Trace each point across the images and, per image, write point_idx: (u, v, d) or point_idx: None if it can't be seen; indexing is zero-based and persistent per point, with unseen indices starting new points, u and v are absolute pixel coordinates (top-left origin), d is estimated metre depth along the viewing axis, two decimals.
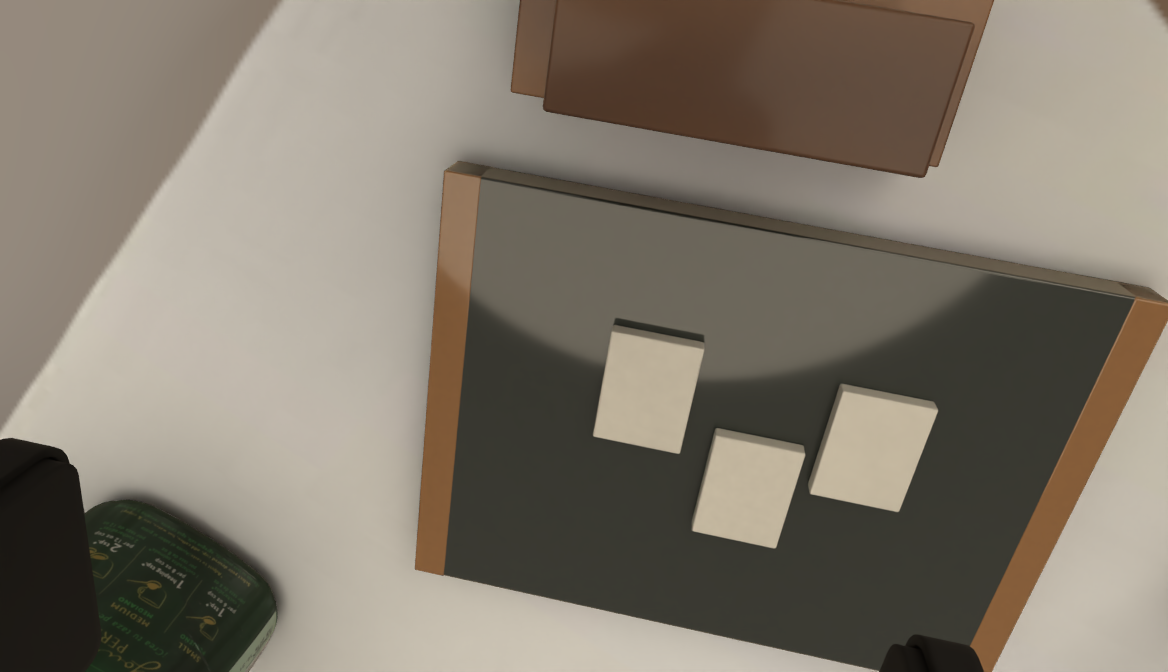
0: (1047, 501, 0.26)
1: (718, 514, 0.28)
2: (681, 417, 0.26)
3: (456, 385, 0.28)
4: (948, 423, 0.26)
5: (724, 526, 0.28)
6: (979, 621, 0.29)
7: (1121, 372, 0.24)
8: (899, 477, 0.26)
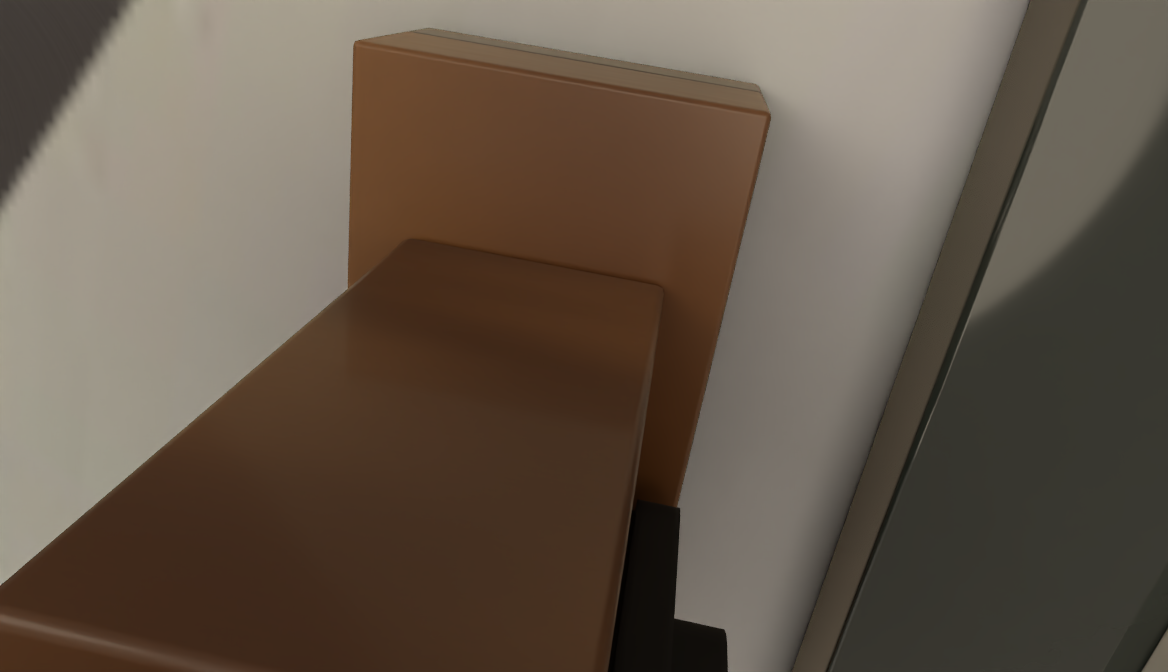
0: None
1: None
2: None
3: None
4: None
5: None
6: None
7: None
8: None
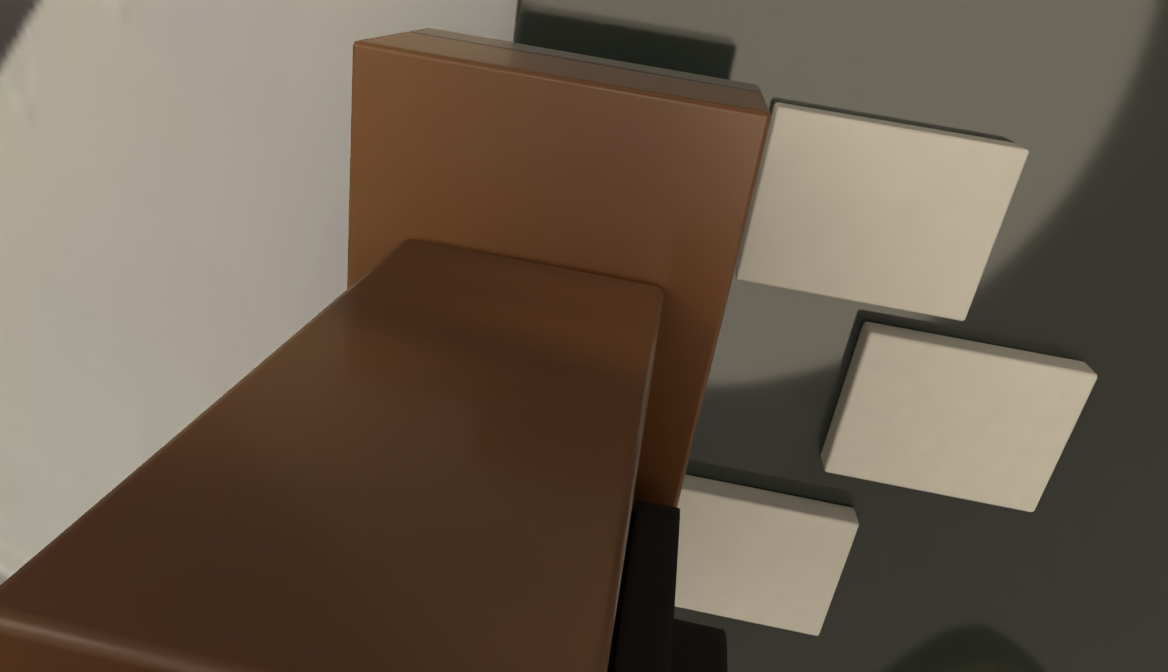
0: None
1: (998, 471, 0.15)
2: (785, 519, 0.16)
3: None
4: (826, 66, 0.13)
5: (1028, 462, 0.15)
6: None
7: None
8: (936, 160, 0.13)
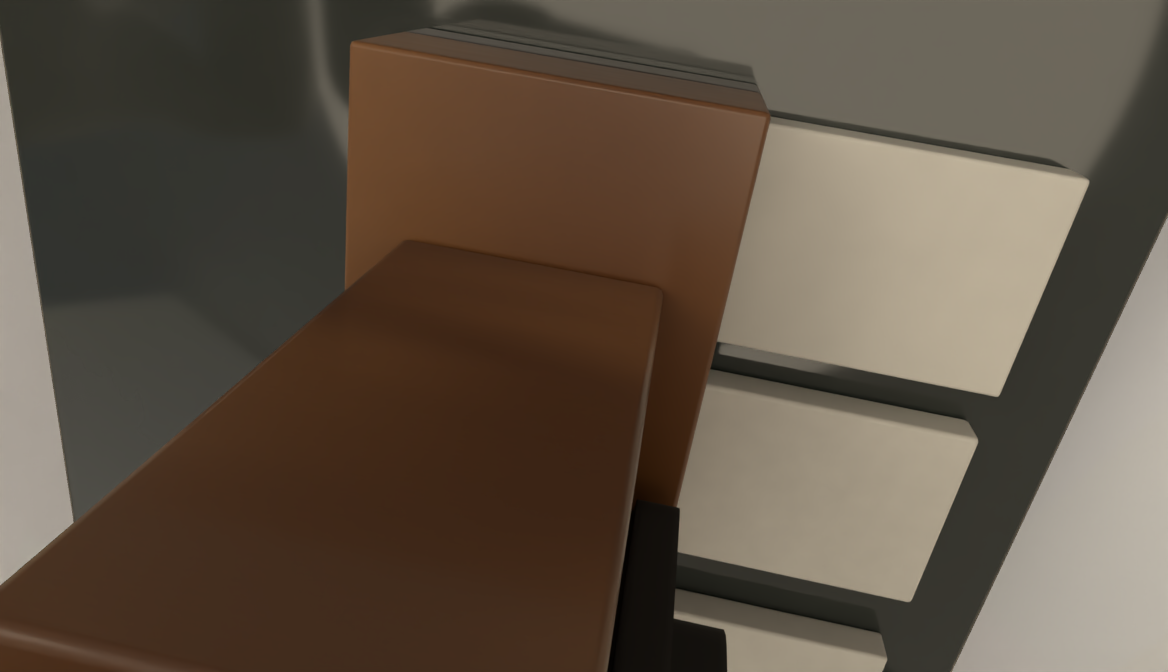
0: None
1: (863, 553, 0.12)
2: (796, 649, 0.13)
3: None
4: None
5: (899, 543, 0.12)
6: None
7: None
8: (965, 192, 0.10)
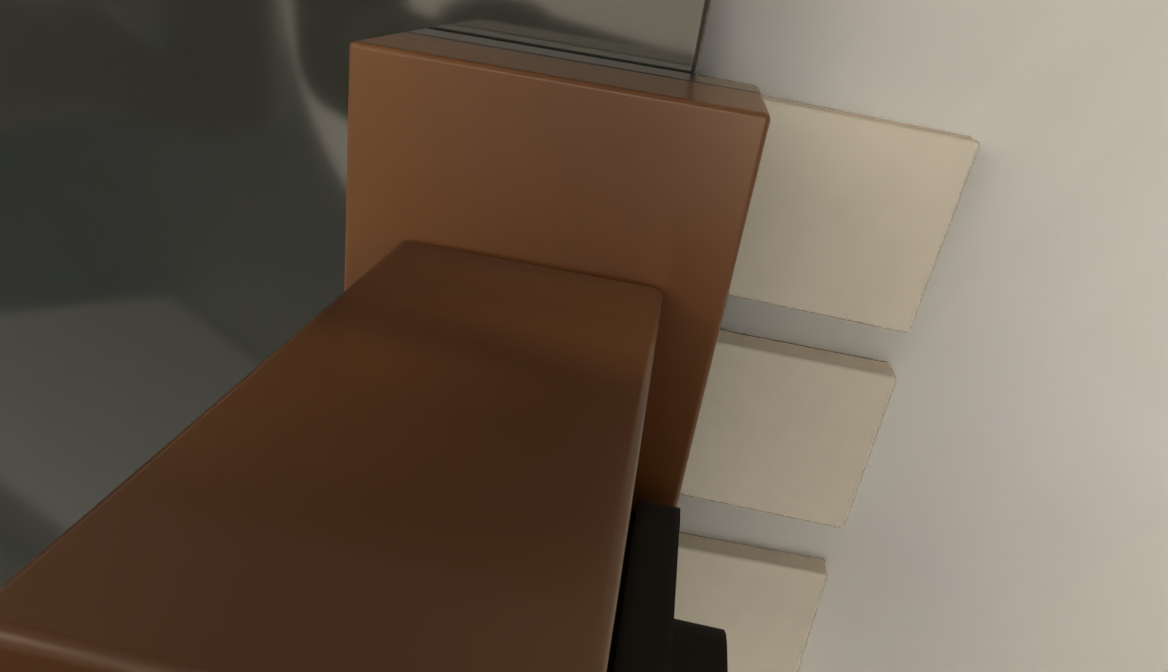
0: None
1: (799, 483, 0.14)
2: (747, 569, 0.15)
3: None
4: None
5: (832, 473, 0.13)
6: None
7: None
8: (876, 152, 0.11)
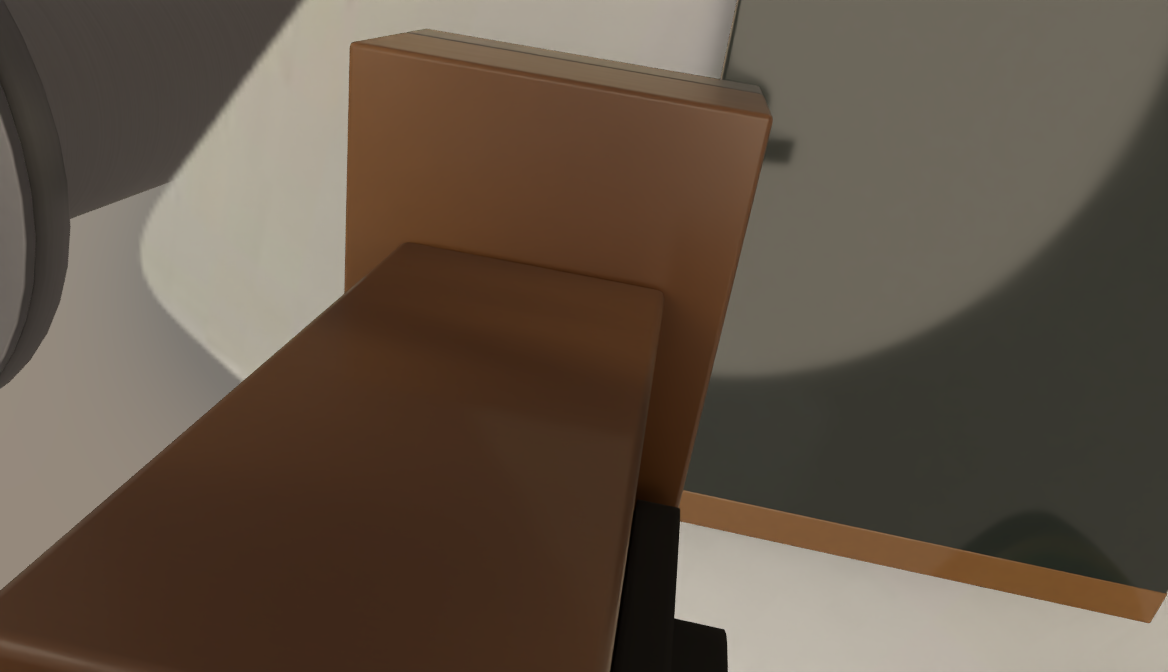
0: None
1: None
2: None
3: (875, 535, 0.24)
4: None
5: None
6: None
7: None
8: None
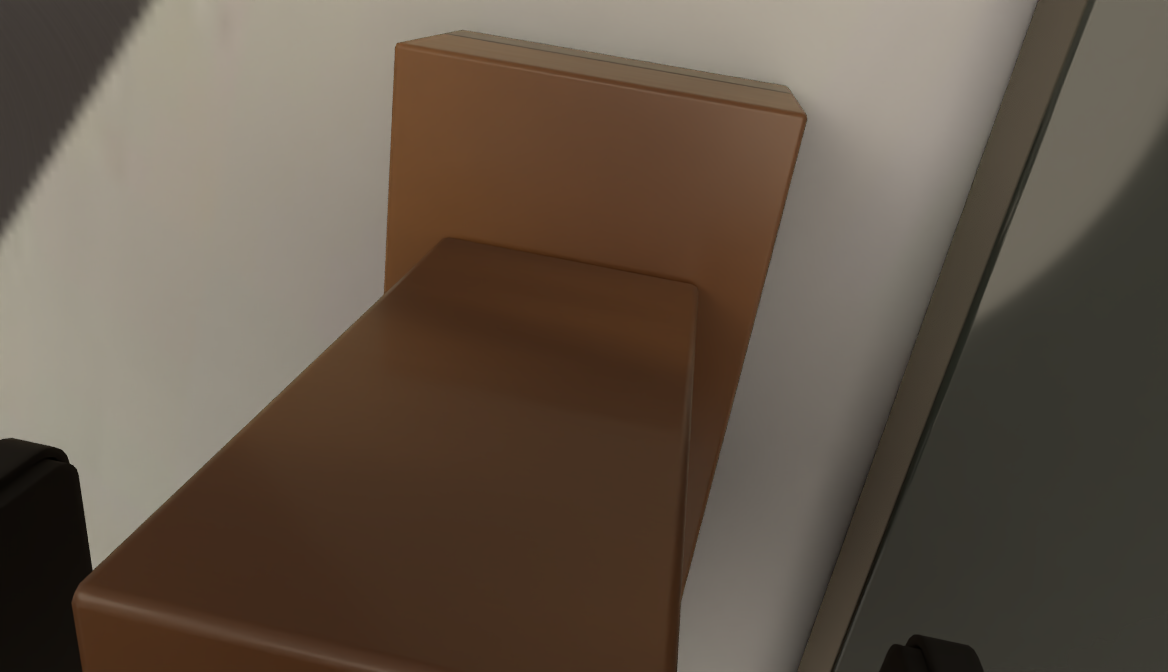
0: None
1: None
2: None
3: None
4: None
5: None
6: None
7: None
8: None
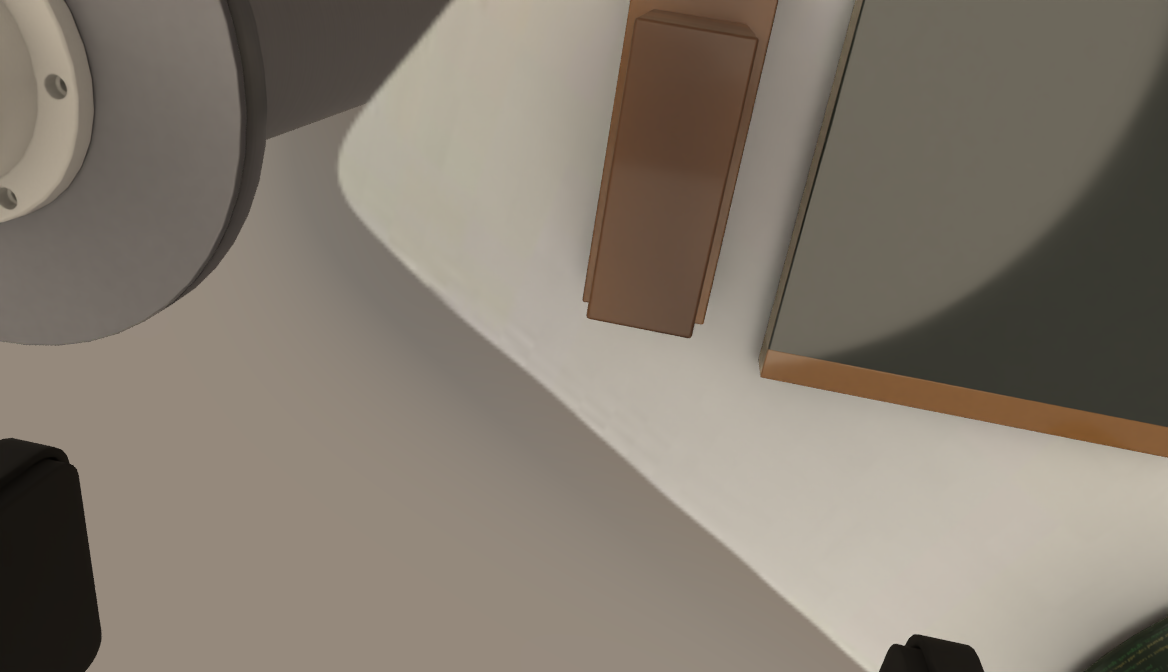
0: None
1: None
2: None
3: (970, 393, 0.29)
4: None
5: None
6: None
7: None
8: None
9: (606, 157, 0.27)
